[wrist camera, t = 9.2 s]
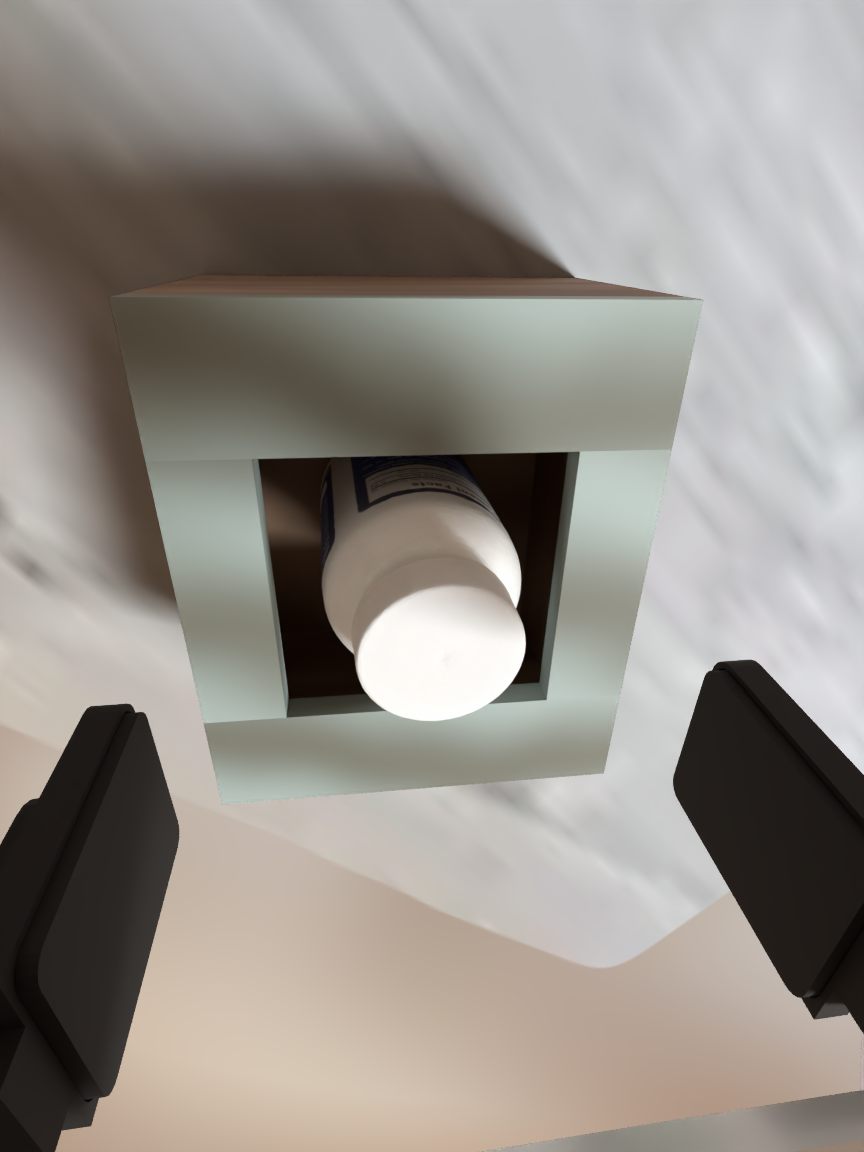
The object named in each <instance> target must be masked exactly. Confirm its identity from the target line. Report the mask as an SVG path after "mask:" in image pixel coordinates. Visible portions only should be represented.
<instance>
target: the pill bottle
mask: <svg viewBox="0 0 864 1152" xmlns="http://www.w3.org/2000/svg"><path fill="white" fill-rule="evenodd" d="M320 514H321V558H322V563H321V569H322V592H323V599H324V606H325V610H326V614H327V617H328V620H329V622H330V624H331V626H332V628H333V630H334V632H335V633H336V635H337V637H338V638H339V639H340V640H341V642H342V643H343V644H344V645H345V646H346V647H347V648H348V649H349V650H350V651H351V652H352V653H353V654H354V658H355V666H356V671H357V675H358V678H359V681H360V683H361V685H362V688H363V689H364V691H365V692H366V693H367V694H368V696H369V697H370V698H371V699H372V700H373V701H374V702H375V703H376V704H378V705H379V706H380V707H382V708H383V709H385V710H387V711H389V712H390V713H393V714H395V715H397V716H400V717H403V718H408V719H413V720H420V721H441V720H446V719H452V718H456V717H461V716H464V715H466V714H469V713H472V712H474V711H476V710H478V709H480V708H482V707H483V706H485V705H487V704H488V703H490V702H491V701H493V700H494V699H495V698H497V697H498V696H499V695H500V694H501V693H502V692H503V691H504V690H505V689H506V688H507V687H508V686H509V685H510V684H511V682H512V681H513V679H514V678H515V676H516V675H517V673H518V671H519V669H520V667H521V664H522V661H523V658H524V654H525V646H526V640H525V631H524V627H523V623H522V621H521V619H520V617H519V614H518V612H517V610H516V607H517V604H518V600H519V596H520V590H521V570H520V563H519V559H518V555H517V552H516V550H515V547H514V545H513V543H512V541H511V539H510V537H509V535H508V533H507V531H506V529H505V528H504V526H503V525H502V523H501V521H500V520H499V518H498V516H497V515H496V513H495V512H494V510H493V508H492V506H491V504H490V503H489V501H488V500H487V498H486V496H485V495H484V493H483V491H482V490H481V488H480V486H479V485H478V483H477V481H476V480H475V478H474V476H473V475H472V473H471V471H470V469H469V468H468V465H467V464H466V462H465V461H464V459H463V458H462V456H461V455H460V454H452V455H408V456H365V457H332V458H331V460H330V461H329V463H328V465H327V467H326V470H325V472H324V475H323V479H322V485H321V494H320Z"/></svg>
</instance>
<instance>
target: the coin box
mask: <svg viewBox="0 0 864 1152" xmlns="http://www.w3.org/2000/svg"><path fill="white" fill-rule="evenodd" d="M109 301H110V306H111V310H112V315H113V319H114V324H115V328H116V333H117V337H118V342H119V346H120V351H121V355H122V360H123V364H124V369H125V373H126V377H127V382H128V386H129V391H130V395H131V400H132V404H133V409H134V413H135V418H136V422H137V427H138V431H139V436H140V440H141V445H142V449H143V454H144V458H145V463H146V467H147V472H148V476H149V480H150V485H151V489H152V494H153V498H154V503H155V507H156V512H157V516H158V521H159V525H160V530H161V534H162V539H163V543H164V548H165V552H166V557H167V561H168V566H169V570H170V575H171V579H172V584H173V588H174V592H175V597H176V601H177V606H178V610H179V615H180V619H181V624H182V628H183V633H184V637H185V642H186V646H187V651H188V655H189V660H190V664H191V669H192V673H193V678H194V682H195V687H196V691H197V695H198V700H199V704H200V709H201V713H202V718H203V722H204V727H205V731H206V736H207V740H208V745H209V749H210V754H211V758H212V763H213V767H214V772H215V776H216V781H217V785H218V790H219V794H220V798H221V803H222V805H223V804H236V803H248V802H260V801H272V800H284V799H297V798H309V797H321V796H333V795H345V794H358V793H370V792H382V791H394V790H406V789H419V788H431V787H443V786H455V785H467V784H480V783H492V782H504V781H516V780H528V779H541V778H553V777H565V776H577V775H589V774H602V773H604V769H605V764H606V760H607V755H608V750H609V745H610V741H611V736H612V731H613V726H614V722H615V717H616V712H617V707H618V703H619V698H620V693H621V688H622V683H623V679H624V674H625V669H626V664H627V660H628V655H629V650H630V645H631V641H632V636H633V631H634V626H635V622H636V617H637V612H638V607H639V603H640V598H641V593H642V588H643V583H644V579H645V574H646V569H647V564H648V560H649V555H650V550H651V545H652V541H653V536H654V531H655V526H656V522H657V517H658V512H659V507H660V503H661V498H662V493H663V488H664V483H665V479H666V474H667V469H668V464H669V460H670V455H671V450H672V445H673V441H674V436H675V431H676V426H677V422H678V417H679V412H680V407H681V403H682V398H683V393H684V388H685V384H686V379H687V374H688V369H689V364H690V360H691V355H692V350H693V345H694V341H695V336H696V331H697V326H698V322H699V317H700V312H701V307H702V303H703V300H701V299H695V298H689V297H683V296H678V295H672V294H666V293H660V292H655V291H649V290H643V289H637V288H632V287H626V286H620V285H614V284H609V283H603V282H597V281H591V280H586V279H580V278H544V277H431V276H318V275H205V274H202V275H198V276H194V277H190V278H186V279H182V280H177V281H173V282H169V283H165V284H161V285H156V286H152V287H148V288H144V289H140V290H136V291H131V292H127V293H123V294H119V295H115V296H111V297H109ZM452 454H460V455H461V456H462V458H463V459H464V461H465V462H466V464H467V465H468V468H469V469H470V471H471V473H472V475H473V476H474V478H475V480H476V481H477V483H478V485H479V486H480V488H481V490H482V491H483V493H484V495H485V496H486V498H487V500H488V501H489V503H490V504H491V506H492V508H493V510H494V512H495V513H496V515H497V516H498V518H499V520H500V521H501V523H502V525H503V526H504V528H505V529H506V531H507V533H508V535H509V537H510V539H511V541H512V543H513V545H514V547H515V550H516V552H517V555H518V559H519V563H520V570H521V590H520V596H519V600H518V604H517V607H516V610H517V612H518V614H519V617H520V619H521V621H522V623H523V627H524V631H525V640H526V646H525V654H524V658H523V661H522V664H521V667H520V669H519V671H518V673H517V675H516V676H515V678H514V679H513V681H512V682H511V684H510V685H509V686H508V687H507V688H506V689H505V690H504V691H503V692H502V693H501V694H500V695H499V696H498V697H497V698H495V699H494V700H493V701H491V702H490V703H488V704H487V705H485V706H483V707H482V708H480V709H478V710H476V711H474V712H472V713H469V714H466V715H464V716H461V717H456V718H452V719H446V720H441V721H420V720H413V719H408V718H403V717H400V716H397V715H395V714H393V713H390V712H389V711H387V710H385V709H383V708H382V707H380V706H379V705H378V704H376V703H375V702H374V701H373V700H372V699H371V698H370V697H369V696H368V694H367V693H366V692H365V691H364V689H363V688H362V685H361V683H360V681H359V678H358V675H357V671H356V666H355V658H354V654H353V653H352V652H351V651H350V650H349V649H348V648H347V647H346V646H345V645H344V644H343V643H342V642H341V640H340V639H339V638H338V637H337V635H336V633H335V632H334V630H333V628H332V626H331V624H330V622H329V620H328V617H327V614H326V610H325V606H324V599H323V592H322V569H321V563H322V558H321V514H320V494H321V485H322V479H323V475H324V472H325V470H326V467H327V465H328V463H329V461H330V460H331V458H332V457H365V456H408V455H452Z"/></svg>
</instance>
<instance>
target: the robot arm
mask: <svg viewBox="0 0 864 1152" xmlns="http://www.w3.org/2000/svg"><path fill="white" fill-rule="evenodd" d="M673 786H674V791H675V794H676V797H677V799H678V801H679V802H680V804H681V806H682V808H683V809H684V811H685V813H686V814H687V816H688V818H689V820H690V821H691V823H692V825H693V827H694V828H695V830H696V832H697V834H698V835H699V837H700V839H701V840H702V842H703V844H704V846H705V847H706V849H707V851H708V853H709V854H710V856H711V858H712V859H713V861H714V863H715V865H716V866H717V868H718V870H719V872H720V873H721V875H722V877H723V879H724V880H725V882H726V884H727V885H728V887H729V889H730V891H731V892H732V894H733V896H734V897H735V899H736V901H737V902H738V904H739V906H740V908H741V910H742V911H743V913H744V915H745V917H746V918H747V920H748V922H749V923H750V925H751V927H752V929H753V930H754V932H755V933H756V936H757V937H758V939H759V941H760V942H761V944H762V946H763V948H764V949H765V951H766V953H767V955H768V956H769V958H770V960H771V962H772V963H773V965H774V967H775V968H776V970H777V972H778V974H779V975H780V977H781V979H782V981H783V982H784V983H785V985H786V987H787V988H788V990H789V991H790V992H791V993H792V994H793V995H795V996H796V997H800V998H802V1000H803V1002H804V1003H805V1005H806V1007H807V1008H808V1010H809V1012H810V1013H811V1015H812V1017H813V1018H814V1019H820V1018H828V1017H835V1016H841V1015H848V1013H849V1012H850V1013H851V1015H852V1017H853V1018H854V1020H855V1021H856V1023H857V1024H858V1026H859V1027H860V1029H861V1031H862V1043H861V1046H862V1047H861V1080H860V1091H855V1092H849V1093H842V1094H836V1095H829V1096H823V1097H817V1098H810V1099H805V1100H797V1101H791V1102H785V1103H778V1104H772V1105H766V1106H760V1107H753V1108H747V1109H741V1110H735V1111H728V1112H722V1113H715V1114H709V1115H703V1116H697V1117H690V1118H685V1119H677V1120H672V1121H665V1122H659V1123H653V1124H647V1125H641V1126H635V1127H628V1128H622V1129H616V1130H610V1131H604V1132H598V1133H592V1134H585V1135H579V1136H573V1137H567V1138H561V1139H555V1140H549V1141H543V1142H536V1143H530V1144H524V1145H519V1146H512V1147H506V1148H501V1149H494V1150H488V1151H482V1152H864V775H863V774H862V773H861V772H860V771H859V770H858V769H857V767H856V766H855V765H854V764H853V763H852V762H851V761H850V760H849V759H848V758H847V757H846V756H845V755H844V754H843V753H842V751H841V750H840V749H839V748H838V747H837V746H836V745H835V744H834V743H833V742H832V741H831V740H830V739H829V738H828V737H827V735H826V734H825V733H824V732H823V731H822V730H821V729H820V728H819V727H818V726H817V725H816V724H815V723H814V722H813V721H812V719H811V718H810V717H809V716H808V715H807V714H806V713H805V712H804V711H803V710H802V709H801V708H800V707H799V706H798V705H797V703H796V702H795V701H794V700H793V699H792V698H791V697H790V696H789V695H788V694H787V693H786V692H785V691H784V690H783V689H782V687H781V686H780V685H779V684H778V683H777V682H776V681H775V680H774V679H773V678H772V677H771V676H770V675H769V674H768V673H767V671H766V670H765V669H764V668H763V667H762V666H761V665H760V664H759V663H757V662H756V661H753V660H739V661H725V662H718V663H717V664H716V665H715V666H714V668H713V670H712V671H709V672H708V673H706V675H705V677H704V680H703V684H702V687H701V690H700V693H699V696H698V700H697V703H696V706H695V709H694V712H693V716H692V719H691V722H690V725H689V728H688V732H687V735H686V738H685V741H684V744H683V748H682V751H681V754H680V757H679V760H678V764H677V767H676V770H675V773H674V777H673ZM178 842H179V825H178V820H177V817H176V814H175V810H174V807H173V804H172V800H171V797H170V793H169V790H168V787H167V783H166V780H165V777H164V773H163V770H162V766H161V763H160V760H159V756H158V753H157V750H156V746H155V743H154V739H153V736H152V733H151V729H150V726H149V723H148V719H147V717H146V714H145V713H144V712H137V713H135V711H134V708H133V707H132V706H131V705H130V704H118V705H103V706H91V707H89V708H87V709H86V711H85V712H84V714H83V715H82V717H81V719H80V721H79V723H78V725H77V727H76V729H75V731H74V733H73V735H72V736H71V738H70V740H69V742H68V744H67V746H66V748H65V750H64V752H63V754H62V756H61V757H60V759H59V761H58V763H57V765H56V767H55V769H54V771H53V773H52V775H51V777H50V778H49V780H48V782H47V784H46V786H45V788H44V790H43V792H42V794H41V796H40V798H38V799H32V800H30V801H29V802H27V803H26V804H25V805H23V807H22V808H21V810H20V811H19V813H18V814H17V816H16V817H15V819H14V821H13V823H12V825H11V826H10V828H9V830H8V832H7V834H6V835H5V837H4V839H3V841H2V843H1V845H0V1152H55V1150H56V1147H57V1143H58V1140H59V1137H60V1134H61V1130H68V1129H75V1128H81V1127H88V1126H91V1125H92V1121H93V1117H94V1114H95V1110H96V1106H97V1103H98V1099H99V1098H101V1097H106V1096H108V1095H109V1094H110V1093H111V1092H112V1089H113V1087H114V1085H115V1082H116V1079H117V1076H118V1072H119V1069H120V1065H121V1061H122V1057H123V1053H124V1050H125V1046H126V1042H127V1038H128V1034H129V1030H130V1026H131V1023H132V1019H133V1015H134V1012H135V1008H136V1004H137V1000H138V996H139V993H140V988H141V985H142V981H143V977H144V974H145V969H146V966H147V962H148V958H149V954H150V951H151V947H152V943H153V939H154V935H155V932H156V927H157V924H158V920H159V916H160V912H161V908H162V905H163V901H164V897H165V894H166V890H167V886H168V882H169V878H170V875H171V871H172V867H173V863H174V859H175V855H176V852H177V848H178Z"/></svg>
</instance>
